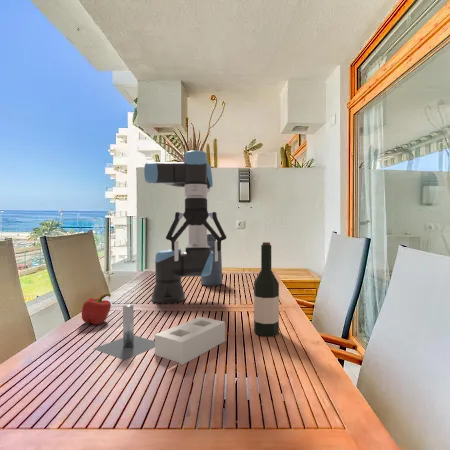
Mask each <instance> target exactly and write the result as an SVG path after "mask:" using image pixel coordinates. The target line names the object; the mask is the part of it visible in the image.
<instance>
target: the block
mask: <svg viewBox="0 0 450 450" xmlns="http://www.w3.org/2000/svg"><path fill="white" fill-rule="evenodd" d="M154 341H155V347H154V356H158V357H161V358H163V359H167V360H169V361H173V362H176V363H177V364H179V365H182V366H183V365H185V364H187V363H189V362H190V361H193V360H194V359H195V358H198V357H200V356H201V355H203V354H204V353H206V352H208V351H210V350H212V349H214V348H215V347H218V346H219V345H221V344H223V343H224V342H226V321H222V320H217V319H213V318H209V317H203V316H198V317H195V318H193V319H191V320H188V321H186V322H183V323H181V324H178V325H176V326H173V327H170V328H168V329H166V330H163V331H160V332H158V333H156V334H154Z"/></svg>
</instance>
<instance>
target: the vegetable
mask: <svg viewBox="0 0 450 450" xmlns="http://www.w3.org/2000/svg"><path fill="white" fill-rule="evenodd" d="M111 296H112V295H111V293H104V294H103V295H100V296H99V298H93V297H90V298H88V299H87V300H85V301H84V303H83V305H82V308H81V320H82V321H83V322H84V323H86V324H92V325H94V326H95V325H96V326H97V325H98V326H99V325H102V324H103V323H104V322H105V321H106V320H107V318H108V316H109V313H110V310H111V307H112V304H111V301H110V300H104V299H105V298H106V297H108V298H110V297H111Z"/></svg>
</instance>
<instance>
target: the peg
mask: <svg viewBox="0 0 450 450" xmlns="http://www.w3.org/2000/svg"><path fill="white" fill-rule="evenodd" d="M134 325H135V323H134V304H130V303H129V304H124V305H122V338H123V347H124V348H131V347H133V346H134V335H135V329H134V328H135V327H134Z"/></svg>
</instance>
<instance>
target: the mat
mask: <svg viewBox="0 0 450 450" xmlns="http://www.w3.org/2000/svg"><path fill="white" fill-rule="evenodd" d="M152 349H155V340H153V339H148V338H146V337H141V336H138V335H135V334H134V346H133V347H131V348H124V347H123V337H121V338H119V339H115V340H112V341H110V342H108V343H105V344H104V343H103V344H102V345H100V346H96V347H94V348H93V350H95V351H99V352H101V353H103V354H107V355H110V356H112V357H115V358H118V359H120V360H123V361H127V360H129V359H131V358H133V357H136V356H139V355H141V354H143V353H144V352H147V351H149V350H152Z"/></svg>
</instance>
